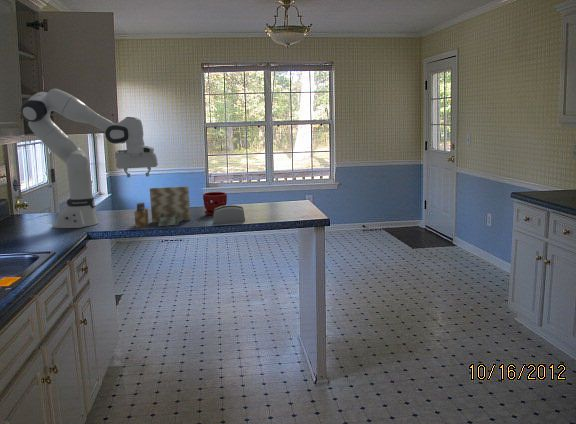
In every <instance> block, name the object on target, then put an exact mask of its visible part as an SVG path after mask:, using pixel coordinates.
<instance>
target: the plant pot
mask: <svg viewBox="0 0 576 424" xmlns="http://www.w3.org/2000/svg"><path fill="white" fill-rule="evenodd" d="M227 195H228V194H227V192H222V191H209V192H205V193H204V192H203V194H202V199H203V205H204V209H205V210H204V213H205V215H207V216H211V217H213V215H214V209H215V208H217V207H220V206H225V205H227V203H228V202H227V201H228V197H227Z"/></svg>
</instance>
